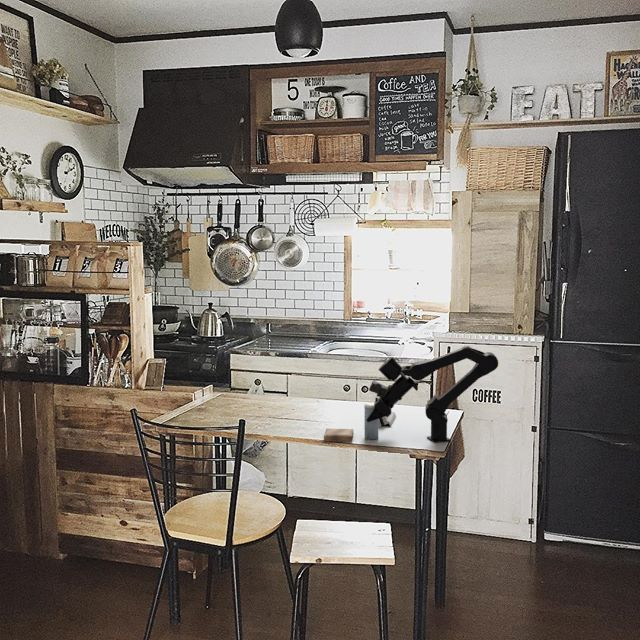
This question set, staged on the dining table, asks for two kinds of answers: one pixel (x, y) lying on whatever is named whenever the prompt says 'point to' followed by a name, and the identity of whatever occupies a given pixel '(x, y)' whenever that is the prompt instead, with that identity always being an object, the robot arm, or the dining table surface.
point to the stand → (338, 435)
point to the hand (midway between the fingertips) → (367, 419)
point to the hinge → (387, 419)
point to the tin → (370, 423)
